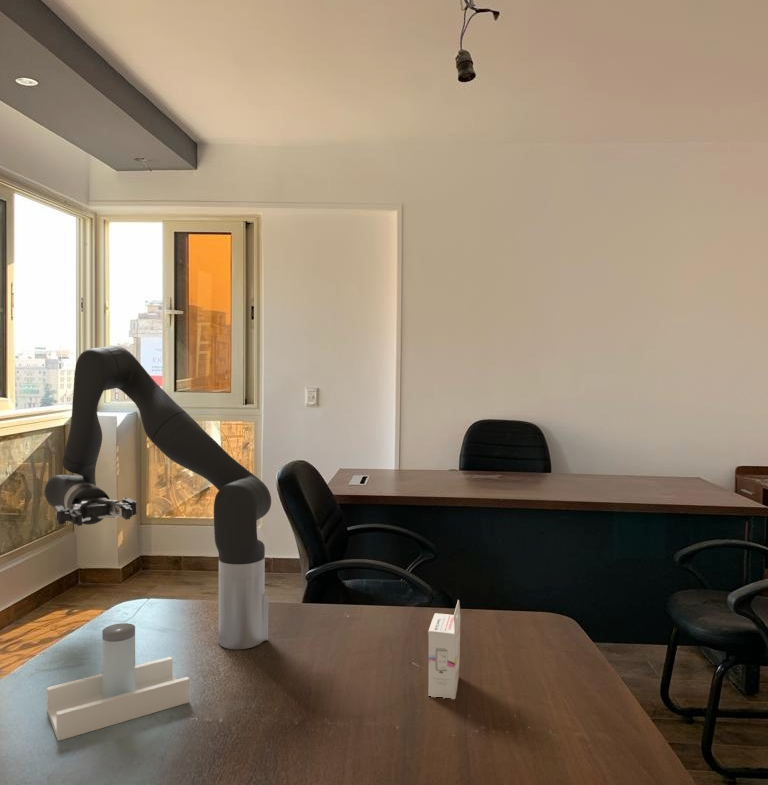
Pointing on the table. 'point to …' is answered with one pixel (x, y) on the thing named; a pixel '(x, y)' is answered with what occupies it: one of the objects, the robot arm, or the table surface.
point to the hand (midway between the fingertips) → (104, 517)
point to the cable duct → (114, 699)
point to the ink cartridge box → (444, 654)
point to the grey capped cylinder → (118, 659)
